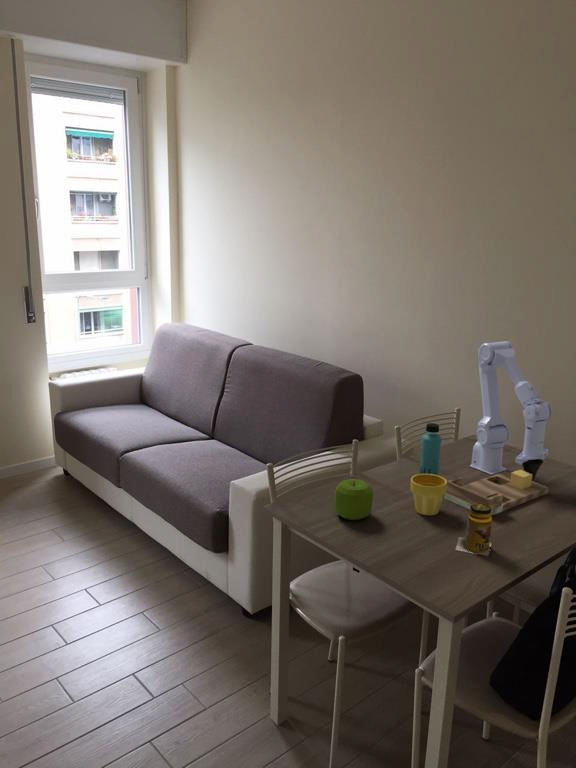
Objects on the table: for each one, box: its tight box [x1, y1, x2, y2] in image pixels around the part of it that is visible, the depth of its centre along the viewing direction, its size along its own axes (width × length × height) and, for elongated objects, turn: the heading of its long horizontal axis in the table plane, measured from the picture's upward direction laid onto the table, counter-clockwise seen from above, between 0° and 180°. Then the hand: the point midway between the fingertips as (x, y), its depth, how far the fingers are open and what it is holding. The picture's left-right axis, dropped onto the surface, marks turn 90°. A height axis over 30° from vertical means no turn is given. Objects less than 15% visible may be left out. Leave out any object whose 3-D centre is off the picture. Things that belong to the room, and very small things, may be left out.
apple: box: [334, 478, 374, 521], centre depth 187 cm, size 11×11×11 cm
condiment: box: [455, 503, 493, 555], centre depth 169 cm, size 7×8×12 cm
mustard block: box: [510, 469, 532, 489], centre depth 205 cm, size 4×4×4 cm
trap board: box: [443, 470, 549, 517], centre depth 202 cm, size 30×16×6 cm, turn 126°
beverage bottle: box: [419, 422, 443, 476], centre depth 209 cm, size 6×7×20 cm
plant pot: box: [410, 473, 448, 516], centre depth 190 cm, size 10×10×10 cm
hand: (529, 480), depth 207 cm, fingers closed
